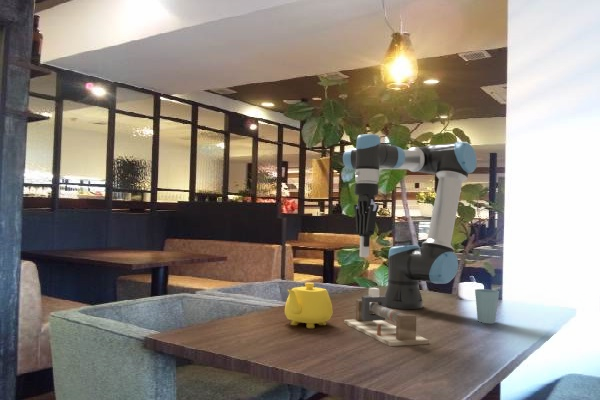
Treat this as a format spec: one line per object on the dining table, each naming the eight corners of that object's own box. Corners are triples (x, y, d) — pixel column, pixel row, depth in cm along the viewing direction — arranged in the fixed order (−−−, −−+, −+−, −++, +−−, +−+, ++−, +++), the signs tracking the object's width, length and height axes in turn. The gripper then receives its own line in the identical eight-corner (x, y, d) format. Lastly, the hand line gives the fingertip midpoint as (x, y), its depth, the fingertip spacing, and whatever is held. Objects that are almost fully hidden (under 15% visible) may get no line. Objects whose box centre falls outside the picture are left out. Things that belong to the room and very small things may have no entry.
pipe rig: (344, 323, 165) (344, 299, 165) (377, 321, 169) (378, 298, 170) (389, 346, 138) (390, 317, 138) (428, 343, 142) (429, 315, 142)
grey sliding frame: (361, 319, 160) (362, 288, 160) (381, 318, 162) (382, 287, 162) (364, 320, 158) (365, 289, 158) (385, 320, 160) (386, 288, 160)
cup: (503, 323, 173) (504, 291, 173) (486, 324, 170) (486, 292, 170) (487, 319, 180) (487, 288, 180) (469, 320, 177) (470, 289, 177)
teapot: (341, 323, 165) (343, 283, 165) (304, 334, 149) (305, 289, 149) (306, 317, 173) (307, 278, 173) (267, 326, 157) (269, 283, 157)
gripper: (347, 183, 172) (344, 255, 172) (365, 181, 160) (362, 258, 159) (367, 184, 175) (365, 255, 174) (387, 182, 163) (384, 258, 162)
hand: (364, 256), depth 167 cm, fingers closed
